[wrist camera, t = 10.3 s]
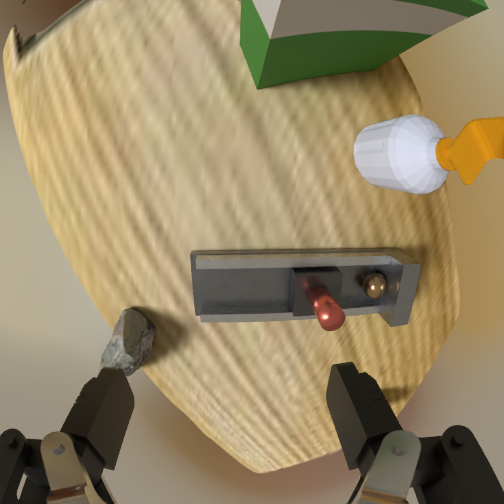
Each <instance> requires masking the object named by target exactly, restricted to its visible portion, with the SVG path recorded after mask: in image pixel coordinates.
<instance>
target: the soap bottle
mask: <svg viewBox="0 0 504 504" xmlns="http://www.w3.org/2000/svg"><path fill="white" fill-rule="evenodd" d="M493 158H503V159H504V117H494V118H480V119H475V120H472V121H470V122H468V123H467V124H466V125H465V126H464V128H463V129H462V130H461V132H460V133H459V134H458V136H457V137H456V138H455V140H453V139H451V138H445V136H444V133H443V132H442V131H441V130H440V128H439V127H438V126H437V125H436V124H435V123H434V122H432V121H430V120H429V119H427V118H425V117H423V116H419V115H412V114H410V115H406V116H402V117H398V118H394V119H390V120H386V121H383V122H379V123H375V124H372V125H370V126H367V127H365V128H364V129H363V130H362V131H361V132H360V133H359V134H358V136H357V139H356V141H355V143H354V159H355V163H356V167H357V168H358V170H359V172H360V174H361V175H362V177H363V178H365V179H366V180H367V181H368V182H369V183H370V184H373V185H376V186H378V187H382V188H388V189H394V190H399V191H404V192H409V193H414V194H428V193H430V192H432V191H434V190H436V189H437V188H439V187H440V186H441V185H442V184H443V183H444V181H445V180H446V178H447V175H448V173H449V171H454V170H457V172H458V173H459V175H460V177H461V179H462V181H463V183H464V184H466V185H471V184H472V183H473V181H474V180H475V178H476V177H477V176H478V174H479V172H480V171H481V169H482V168H483V166H484V165H485V163H486V162H487V161H488V160H490V159H493Z"/></svg>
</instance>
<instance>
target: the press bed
mask: <svg viewBox="0 0 504 504" xmlns="http://www.w3.org/2000/svg"><path fill="white" fill-rule="evenodd" d="M190 259H191V272H192V284H193V295H194V305H195V315H196V316H200V318H201V322H261V321H285V320H303V319H317V317H316V315H313V316H296V317H293V314H292V311H291V309H290V306H289V293H290V274H291V267H322V266H336V267H337V268H338V269H339V270H340V271H341V272H342V273H343V280H342V288H341V295H340V303H339V306H340V308H341V309H342V310H343V312H344V313H345V316H353V315H363V314H372V313H379V314H380V315H381V317H382V318H383V319H384V320H385V321H386V322H387V323H388V324H389V326H390V327H394V326H400V325H406V324H408V321H409V317H410V313H411V310H412V306H413V301H414V297H415V293H416V288H417V284H418V279H419V274H420V268H421V263H419V262H417V261H416V260H414V259H412V258H411V257H409V256H407V255H406V254H404V253H402V252H401V250H400V249H398V248H344V249H276V250H214V251H192V252H191V254H190Z"/></svg>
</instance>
